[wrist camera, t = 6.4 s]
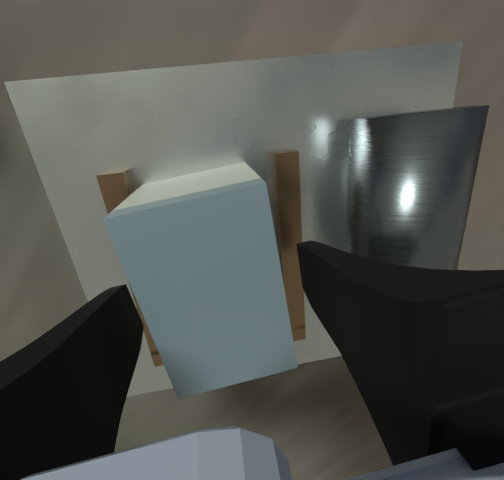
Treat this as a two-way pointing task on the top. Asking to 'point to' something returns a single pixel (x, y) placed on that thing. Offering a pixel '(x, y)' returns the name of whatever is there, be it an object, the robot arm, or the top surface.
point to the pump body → (207, 276)
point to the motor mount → (267, 159)
